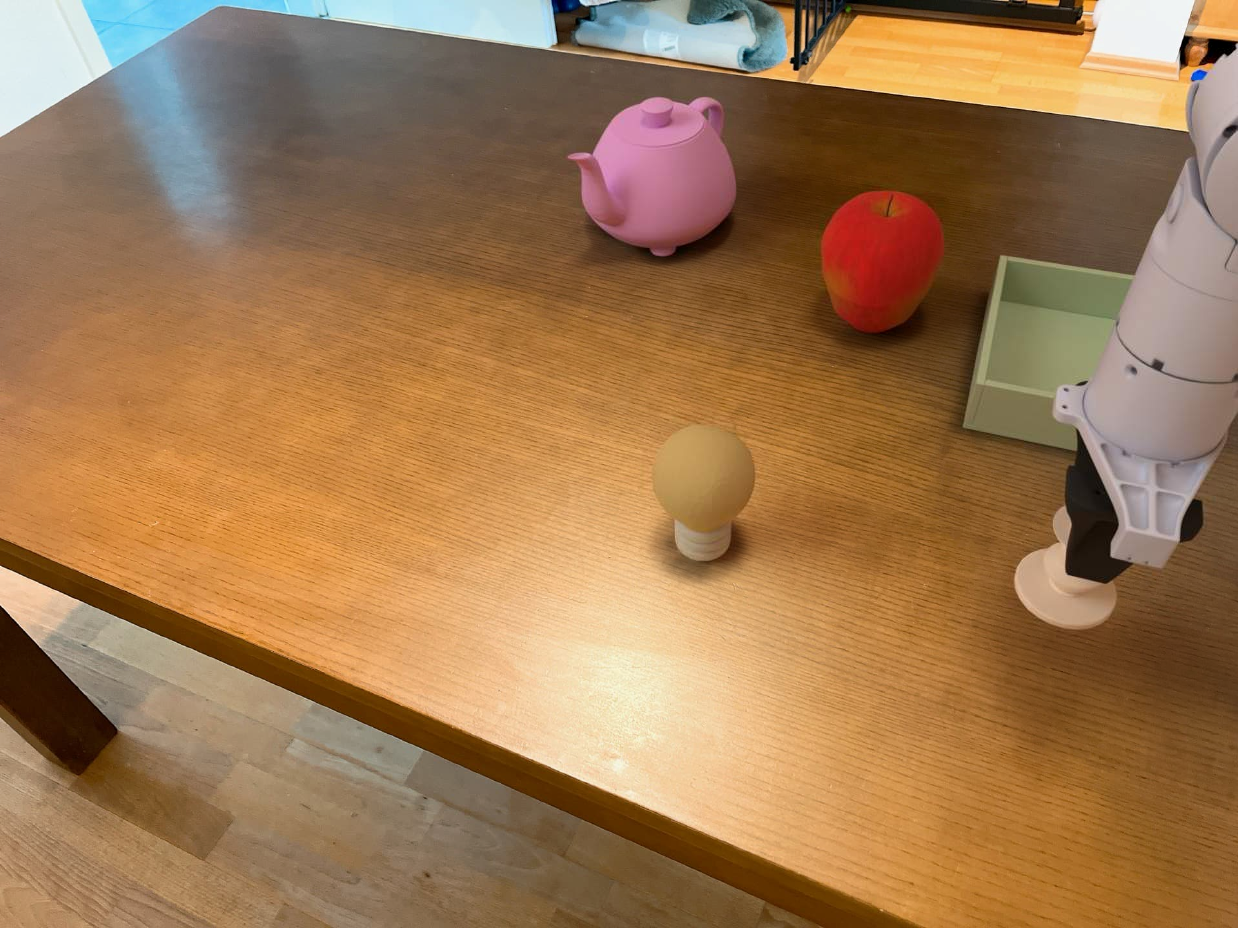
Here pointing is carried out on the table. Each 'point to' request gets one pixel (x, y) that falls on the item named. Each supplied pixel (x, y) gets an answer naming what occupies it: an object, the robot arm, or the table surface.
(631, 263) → the table surface
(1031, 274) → the open box
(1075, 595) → the candle
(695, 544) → the light bulb
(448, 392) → the table surface
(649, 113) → the teapot
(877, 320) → the apple
